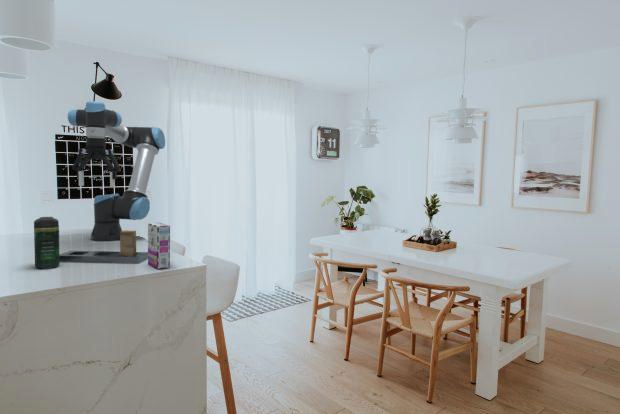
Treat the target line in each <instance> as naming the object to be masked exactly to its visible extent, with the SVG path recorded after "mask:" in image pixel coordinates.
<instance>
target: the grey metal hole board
mask: <svg viewBox="0 0 620 414" xmlns="http://www.w3.org/2000/svg"><path fill="white" fill-rule="evenodd" d="M59 254H60V263H86V264H87V263H91V264H92V263H94V264H95V263H97V264H132V265H133V264H136V265H139V264H141V263H143V262H144V261H146V260H148V251H147V252H145V251H138V252H137V251H136V255H134V256H120V251H110V250H109V251H106V250H104V251H103V250H68V251H65V252H63V253H59Z"/></svg>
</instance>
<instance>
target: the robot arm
mask: <svg viewBox="0 0 620 414" xmlns="http://www.w3.org/2000/svg"><path fill="white" fill-rule="evenodd" d="M67 121H68V123H69V124H70V125H71V126H73V127H83V128H85V137H86V139H85V141H86V143H85V144H86V149H85V148H81V147H80V148H79V149H78V154H77V155H76V158H75V159H74V162H73V165H72V167H71V169H72V170H74V171H76V179H78V187H84V186H85V180H84V179H85V176H84V175H85V174H84V171H83V169H84V168H85V167H86V166H87V165H88V163H90V161H91V160H100V161H103V163H104V164H105V165H106V166H107V167H108V169H109V170H110V172H109V183H110V184H109V185H110V186H109V187H110V188H115V186H116V184H115V181H116V180H117V178H118V177H117V176H118V175H117V172H119V171H121V170H122V169H121V166H120V165H119V164H120V163H118V160H117V157H116V156H115V153H114V150H113V149H111V148H110V149H109V148H108V149H106V147H107V146H106V145H107V141H106V139H105V138H106V137H108V138H111V139H112V140H113V141H114V142H116V143H118V144H120V145H123V146H127V147H129V148H134V149H136V150H137V155H136V158H135V161H134V166H133V169H132V172H131V178H130V182H129V184H128V188H127V189H126V190H124V191H123V195H122V196H120V194H119V193H111V194H102V195H101V194H100V195H96V196H95V197H94V199H93V209H94V210H93V216H94V220H93V221H94V224H93V228H92V231H91V234H90V240H91V241H96V242H97V241H98V242H99V241H101V242H105V241H109V242H111V241H118V240H119V241H120V232H122V231H123V229H122V227H121V224H120V222H121V221H120V220H132V221H137V220H139V221H141V220H143V219H144V218H146V217H147V216H148V214H149V212H150V210H151V209H150V208H151V203H150V202H151V201H150V199H149V198H148V196H147V194H146V192H147V187H148V184H149V179H150V176H151V173H152V172H151V171H152V168H153V163H154V160H155V156H156V155H158V154H159V152H160V150H162V149H164V148H165V146H166V138H165V134H164V132H163V130H162V129H161V128H160V127H156V126H155V127H154V126H151V127H150V126H149V127H148V126H145V127H144V126H143V127H142V126H125V125H121V124H122V121H123V119H122V115H121V114H120V113H119V112H117V111H114V110H110V109H107V108H106V104H105V103H104V102H102V101H95V100H94V101H92V100H90V101H86V102H85V109H79V108H77V109H71V110H69V111H68V113H67ZM85 154H87V155H86V156H85ZM106 155H108V157H109V159H110V160H111V161H110V160H109V159H108V157H107V156H106ZM84 156H85V157H84ZM83 158H84V159H83Z"/></svg>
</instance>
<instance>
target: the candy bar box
mask: <svg viewBox="0 0 620 414" xmlns="http://www.w3.org/2000/svg"><path fill="white" fill-rule="evenodd" d="M170 246H171V225H169V224H165V223H161V222H148V223H147V252H148V259H147V265H149V266H151V267H153V268H155V269H156V270H165V269H170V268H171V267H170V263H171V262H170V261H171V259H170V258H171V257H170V256H171V253H170V251H171V249H170V248H171V247H170Z"/></svg>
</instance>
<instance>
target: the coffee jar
mask: <svg viewBox="0 0 620 414" xmlns="http://www.w3.org/2000/svg"><path fill="white" fill-rule="evenodd" d="M59 223H60V222H59V220H58V219H57V218H56V217H55V218H54V216H40V217H38V218H37V219H35V220H34V221H33V238H34V239H33V240H34V241H33V242H34V243H33V244H34V246H33V247H34V266H35V268H36V269H52V268H56V267H59V265H60V263H61V262H60V254H61V253H60V225H59Z"/></svg>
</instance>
